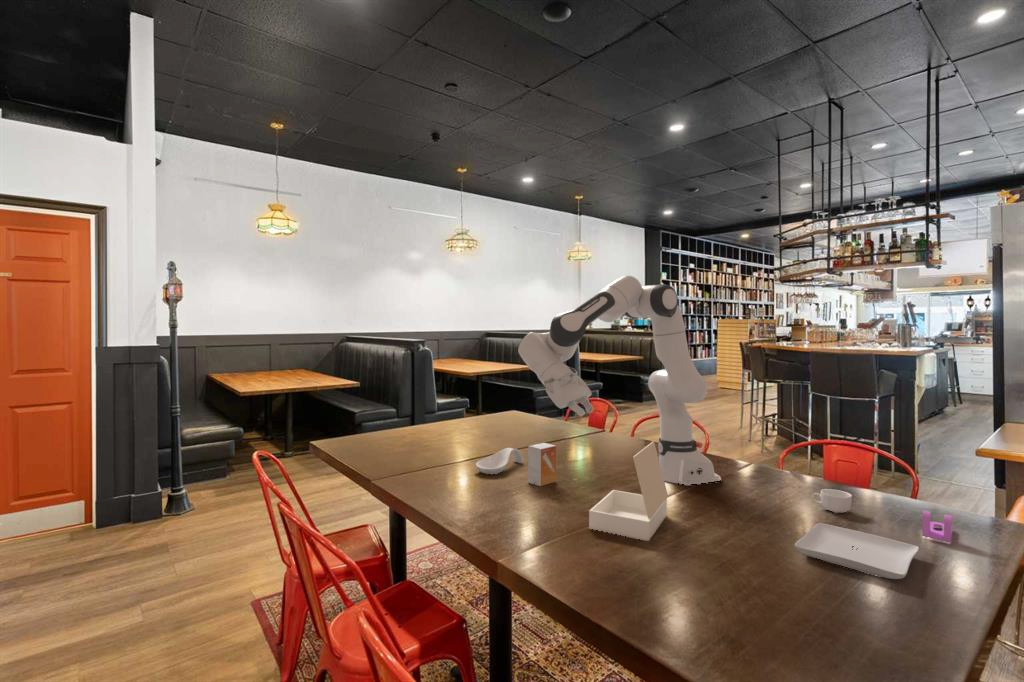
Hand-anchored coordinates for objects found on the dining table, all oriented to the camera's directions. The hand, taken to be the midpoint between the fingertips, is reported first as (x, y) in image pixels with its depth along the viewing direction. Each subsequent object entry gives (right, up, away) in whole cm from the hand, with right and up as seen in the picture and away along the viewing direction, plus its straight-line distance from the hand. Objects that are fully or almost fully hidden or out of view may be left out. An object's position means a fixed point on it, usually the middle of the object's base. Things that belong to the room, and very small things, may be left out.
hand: (587, 413), depth 145 cm
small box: (-11, -29, +31) cm, 44 cm away
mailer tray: (+11, -30, -5) cm, 32 cm away
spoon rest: (-26, -29, +48) cm, 62 cm away
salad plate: (+59, -31, -27) cm, 72 cm away
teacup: (+73, -30, +4) cm, 79 cm away
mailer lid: (+16, -16, -9) cm, 24 cm away
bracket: (+90, -30, -13) cm, 96 cm away
